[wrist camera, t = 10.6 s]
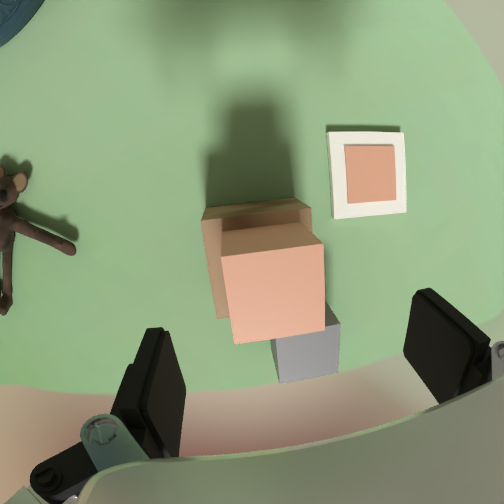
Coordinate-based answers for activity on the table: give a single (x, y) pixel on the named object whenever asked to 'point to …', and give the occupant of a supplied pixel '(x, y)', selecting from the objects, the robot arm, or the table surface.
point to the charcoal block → (308, 352)
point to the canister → (15, 16)
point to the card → (366, 173)
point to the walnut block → (243, 218)
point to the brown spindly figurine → (19, 231)
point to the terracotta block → (273, 281)
